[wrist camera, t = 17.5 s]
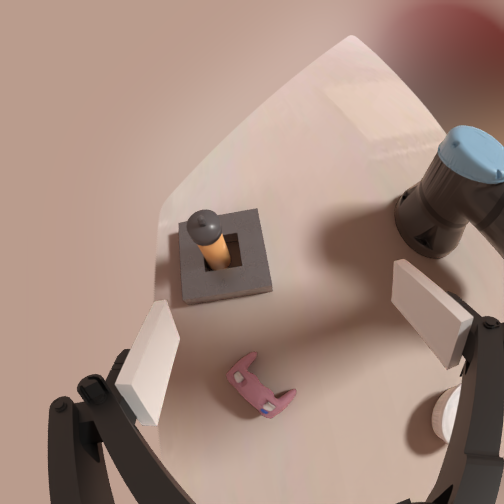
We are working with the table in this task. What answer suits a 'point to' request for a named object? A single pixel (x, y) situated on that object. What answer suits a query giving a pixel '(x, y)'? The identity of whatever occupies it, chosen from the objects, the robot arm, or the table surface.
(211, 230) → the orange lidded canister
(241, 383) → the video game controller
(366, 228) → the table surface
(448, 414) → the ramekin
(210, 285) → the grey square socket block
